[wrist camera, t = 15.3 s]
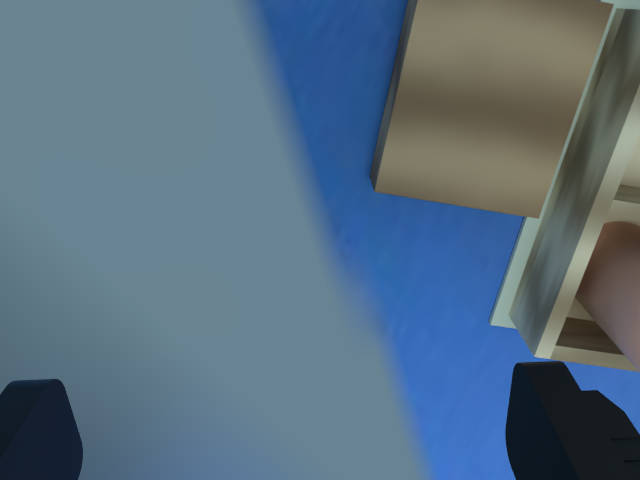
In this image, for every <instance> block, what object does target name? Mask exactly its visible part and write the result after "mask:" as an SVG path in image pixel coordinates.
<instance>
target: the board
mask: <svg viewBox="0 0 640 480" xmlns="http://www.w3.org/2000/svg"><path fill="white" fill-rule="evenodd" d="M613 5H614V4H611V3H606V2H601V1H596V0H408V3H407V8H406V13H405V17H404V22H403V26H402V31H401V35H400V40H399V44H398V49H397V54H396V58H395V63H394V67H393V72H392V76H391V81H390V85H389V90H388V95H387V99H386V104H385V108H384V113H383V117H382V122H381V126H380V131H379V135H378V140H377V145H376V149H375V154H374V158H373V163H372V167H371V172H370V176H369V177H370V180H371V183H372V186H373V189H374V192H379V193H385V194H391V195H397V196H403V197H409V198H415V199H421V200H427V201H433V202H440V203H446V204H452V205H458V206H464V207H470V208H476V209H482V210H488V211H494V212H500V213H507V214H513V215H519V216H525V217H531V218H537V219H539V216H540V214H541V211H542V208H543V205H544V202H545V199H546V196H547V194H548V191H549V188H550V185H551V182H552V179H553V176H554V174H555V171H556V168H557V165H558V162H559V159H560V157H561V154H562V151H563V148H564V145H565V142H566V139H567V137H568V134H569V131H570V128H571V125H572V122H573V119H574V117H575V114H576V111H577V108H578V105H579V102H580V100H581V97H582V94H583V91H584V88H585V85H586V82H587V80H588V77H589V74H590V71H591V68H592V65H593V62H594V60H595V57H596V54H597V51H598V48H599V45H600V43H601V40H602V37H603V34H604V31H605V28H606V25H607V23H608V20H609V17H610V14H611V11H612V8H613Z"/></svg>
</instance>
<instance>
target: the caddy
mask: <svg viewBox="0 0 640 480" xmlns="http://www.w3.org/2000/svg"><path fill="white" fill-rule="evenodd" d="M615 221H623V222H629V223H633V224H636V225H638V226H640V9H622V8H616V11H615V14H614V17H613V20H612V22H611V25H610V28H609V31H608V34H607V37H606V39H605V42H604V45H603V48H602V51H601V54H600V56H599V59H598V62H597V65H596V68H595V71H594V73H593V76H592V79H591V82H590V85H589V87H588V90H587V93H586V96H585V99H584V102H583V104H582V107H581V110H580V113H579V116H578V119H577V121H576V124H575V127H574V130H573V133H572V136H571V138H570V141H569V144H568V147H567V150H566V153H565V155H564V158H563V161H562V164H561V167H560V170H559V172H558V175H557V178H556V181H555V184H554V187H553V189H552V192H551V195H550V198H549V201H548V203H547V206H546V209H545V212H544V215H543V218H542V220H541V223H540V226H539V229H538V232H537V235H536V237H535V240H534V243H533V246H532V249H531V252H530V254H529V257H528V260H527V263H526V266H525V269H524V271H523V274H522V277H521V280H520V283H519V286H518V288H517V291H516V294H515V297H514V300H513V303H512V305H511V308H510V311H509V314H508V315H509V317H510V318H511V320H512V322H513V323H514V325H515V326H516V328H517V330H518V331H519V333H520V335H521V336H522V338H523V339H524V341H525V343H526V344H527V346H528V348H529V349H530V351H531V352H532V354H533V356H534V357H539V358H546V359H553V360H560V361H567V362H574V363H581V364H588V365H595V366H602V367H609V368H616V369H623V370H630V371H637V372H639V371H638V370H637V369H636V367H635V366H634V365H633V364H632V363H631V362H630V361H629V359H628V358H627V357H626V356H625V355H624V354H623V353H622V351H621V350H620V349H619V348H618V347H617V346H616V344H615V343H614V342H613V341H612V340H611V339H610V338H609V336H608V335H607V334H606V333H605V332H604V331H603V330H602V328H601V327H600V326H599V325H598V324H597V323H596V321H595V320H594V319H593V318H592V317H591V316H590V315H589V313H588V312H587V311H586V310H585V309H584V308H583V307H582V305H581V304H580V303H579V302H578V301H577V300H576V298H575V295H576V292H577V290H578V287H579V285H580V282H581V280H582V277H583V275H584V272H585V270H586V267H587V265H588V262H589V260H590V257H591V255H592V252H593V250H594V247H595V245H596V242H597V240H598V237H599V235H600V232H601V230H602V227H603V225H604V223H608V222H615Z"/></svg>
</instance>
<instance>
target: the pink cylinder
mask: <svg viewBox="0 0 640 480" xmlns="http://www.w3.org/2000/svg"><path fill="white" fill-rule="evenodd" d="M575 298H576V300H577V301H578V302H579V303H580V304H581V305H582V307H583V308H584V309H585V310H586V311H587V312H588V313H589V315H590V316H591V317H592V318H593V319H594V320H595V321H596V323H597V324H598V325H599V326H600V327H601V328H602V330H603V331H604V332H605V333H606V334H607V335H608V336H609V338H610V339H611V340H612V341H613V342H614V343H615V344H616V346H617V347H618V348H619V349H620V350H621V351H622V353H623V354H624V355H625V356H626V357H627V358H628V359H629V361H630V362H631V363H632V364H633V365H634V366H635V367H636V369H637V370H638V371H639V372H640V226H638V225H636V224H633V223H629V222H623V221H615V222H608V223H604V225H603V227H602V230H601V232H600V235H599V237H598V240H597V242H596V245H595V247H594V250H593V252H592V255H591V257H590V260H589V262H588V265H587V267H586V270H585V272H584V275H583V277H582V280H581V282H580V285H579V287H578V290H577V292H576V295H575Z"/></svg>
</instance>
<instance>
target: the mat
mask: <svg viewBox="0 0 640 480" xmlns="http://www.w3.org/2000/svg"><path fill="white" fill-rule="evenodd" d="M598 1H601V2H606V3H611V4H614V5H613V8H612V11H611V14H610V17H609V20H608V23H607V25H606V28H605V31H604V34H603V37H602V40H601V43H600V45H599V48H598V51H597V54H596V57H595V60H594V62H593V65H592V68H591V71H590V74H589V77H588V80H587V82H586V85H585V88H584V91H583V94H582V97H581V100H580V102H579V105H578V108H577V111H576V114H575V117H574V119H573V122H572V125H571V128H570V131H569V134H568V137H567V139H566V142H565V145H564V148H563V151H562V154H561V157H560V159H559V162H558V165H557V168H556V171H555V174H554V176H553V179H552V182H551V185H550V188H549V191H548V194H547V196H546V199H545V202H544V205H543V208H542V211H541V214H540V216H539V219H537V218H531V217H525V216H524V219H523V222H522V225H521V228H520V231H519V234H518V237H517V240H516V242H515V245H514V248H513V251H512V254H511V257H510V260H509V263H508V266H507V269H506V272H505V275H504V278H503V281H502V284H501V287H500V290H499V293H498V295H497V298H496V301H495V304H494V307H493V310H492V313H491V316H490V319H489V324H490V325H494V326H501V327H508V328H515V329H517V328H516V326H515V325H514V323H513V322H512V320H511V318H510V317H509V315H508V314H509V311H510V308H511V305H512V303H513V300H514V297H515V294H516V291H517V288H518V286H519V283H520V280H521V277H522V274H523V271H524V269H525V266H526V263H527V260H528V257H529V254H530V252H531V249H532V246H533V243H534V240H535V237H536V235H537V232H538V229H539V226H540V223H541V220H542V218H543V215H544V212H545V209H546V206H547V203H548V201H549V198H550V195H551V192H552V189H553V187H554V184H555V181H556V178H557V175H558V172H559V170H560V167H561V164H562V161H563V158H564V155H565V153H566V150H567V147H568V144H569V141H570V138H571V136H572V133H573V130H574V127H575V124H576V121H577V119H578V116H579V113H580V110H581V107H582V104H583V102H584V99H585V96H586V93H587V90H588V87H589V85H590V82H591V79H592V76H593V73H594V71H595V68H596V65H597V62H598V59H599V56H600V54H601V51H602V48H603V45H604V42H605V39H606V37H607V34H608V31H609V28H610V25H611V22H612V20H613V17H614V14H615V11H616V8H622V9H640V0H598Z"/></svg>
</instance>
